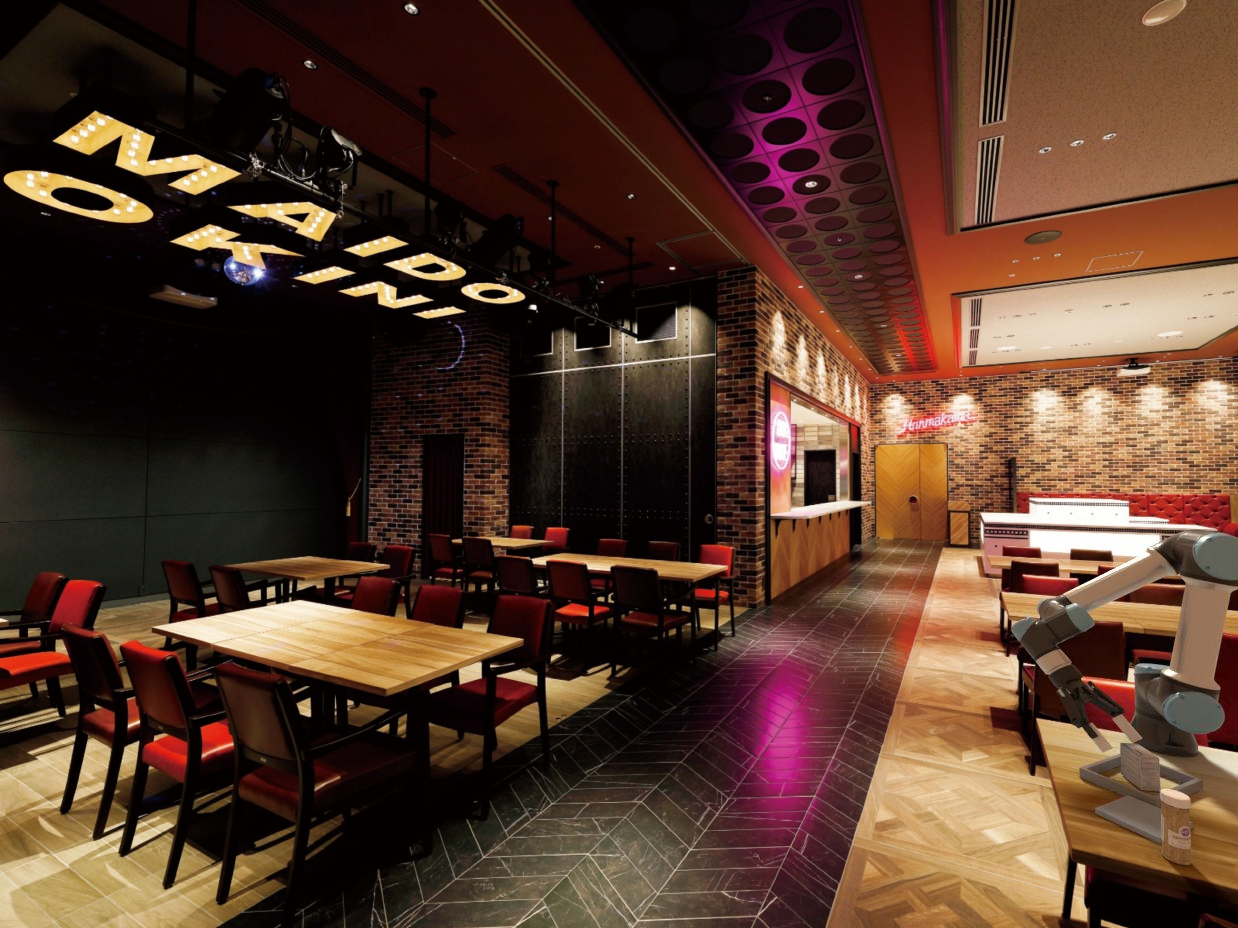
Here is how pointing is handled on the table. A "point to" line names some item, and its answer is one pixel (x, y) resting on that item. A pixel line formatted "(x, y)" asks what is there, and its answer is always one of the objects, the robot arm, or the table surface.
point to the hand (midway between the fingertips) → (1123, 745)
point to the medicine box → (1140, 767)
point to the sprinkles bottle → (1175, 826)
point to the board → (1134, 816)
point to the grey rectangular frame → (1092, 775)
